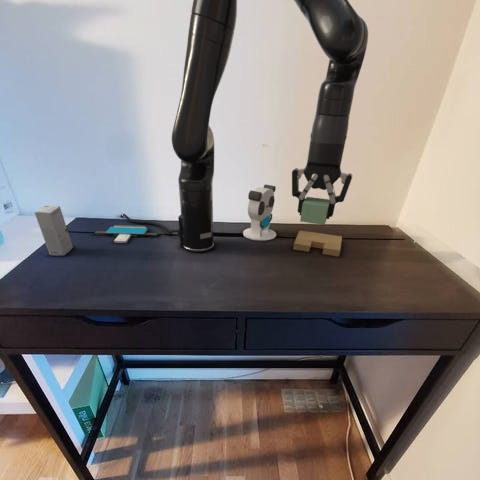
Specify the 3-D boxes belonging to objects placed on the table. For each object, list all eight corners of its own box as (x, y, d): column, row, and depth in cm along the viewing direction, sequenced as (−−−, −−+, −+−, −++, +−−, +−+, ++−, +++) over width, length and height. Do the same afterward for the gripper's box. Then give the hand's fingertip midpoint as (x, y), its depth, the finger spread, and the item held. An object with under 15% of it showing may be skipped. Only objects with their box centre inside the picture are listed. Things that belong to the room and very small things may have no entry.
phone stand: (87, 242, 96) (86, 236, 95) (101, 228, 105) (100, 223, 104) (152, 244, 96) (152, 239, 95) (160, 230, 106) (160, 225, 105)
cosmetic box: (65, 256, 88) (51, 212, 80) (48, 255, 87) (33, 212, 80) (73, 247, 93) (61, 205, 85) (58, 247, 92) (44, 205, 85)
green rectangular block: (300, 221, 77) (302, 202, 74) (306, 210, 84) (308, 193, 82) (324, 225, 76) (328, 206, 73) (328, 213, 83) (332, 196, 80)
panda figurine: (265, 244, 100) (270, 195, 91) (235, 236, 104) (237, 188, 95) (281, 233, 108) (287, 187, 99) (253, 225, 113) (256, 181, 104)
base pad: (293, 249, 97) (293, 243, 96) (298, 236, 106) (299, 230, 105) (338, 256, 94) (340, 250, 93) (340, 242, 103) (342, 236, 102)
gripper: (362, 140, 69) (344, 215, 79) (298, 135, 73) (289, 208, 83) (361, 144, 64) (342, 225, 74) (292, 138, 67) (283, 217, 77)
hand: (314, 216), depth 78 cm, fingers closed on green rectangular block, 6 cm apart
